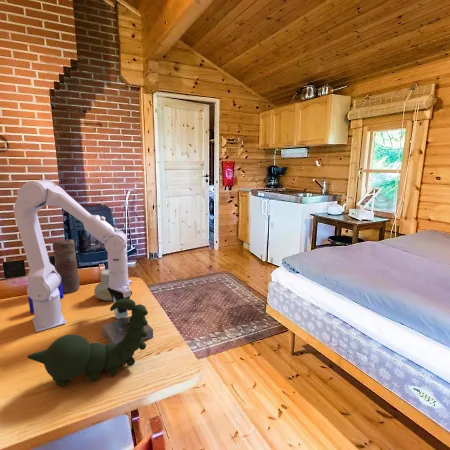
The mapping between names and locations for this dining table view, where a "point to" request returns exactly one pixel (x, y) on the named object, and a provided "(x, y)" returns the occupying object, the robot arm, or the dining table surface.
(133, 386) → the dining table surface
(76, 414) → the dining table surface
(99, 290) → the air freshener
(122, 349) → the toy figurine
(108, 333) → the port block
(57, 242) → the candle
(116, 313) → the plug
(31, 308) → the cable clip
